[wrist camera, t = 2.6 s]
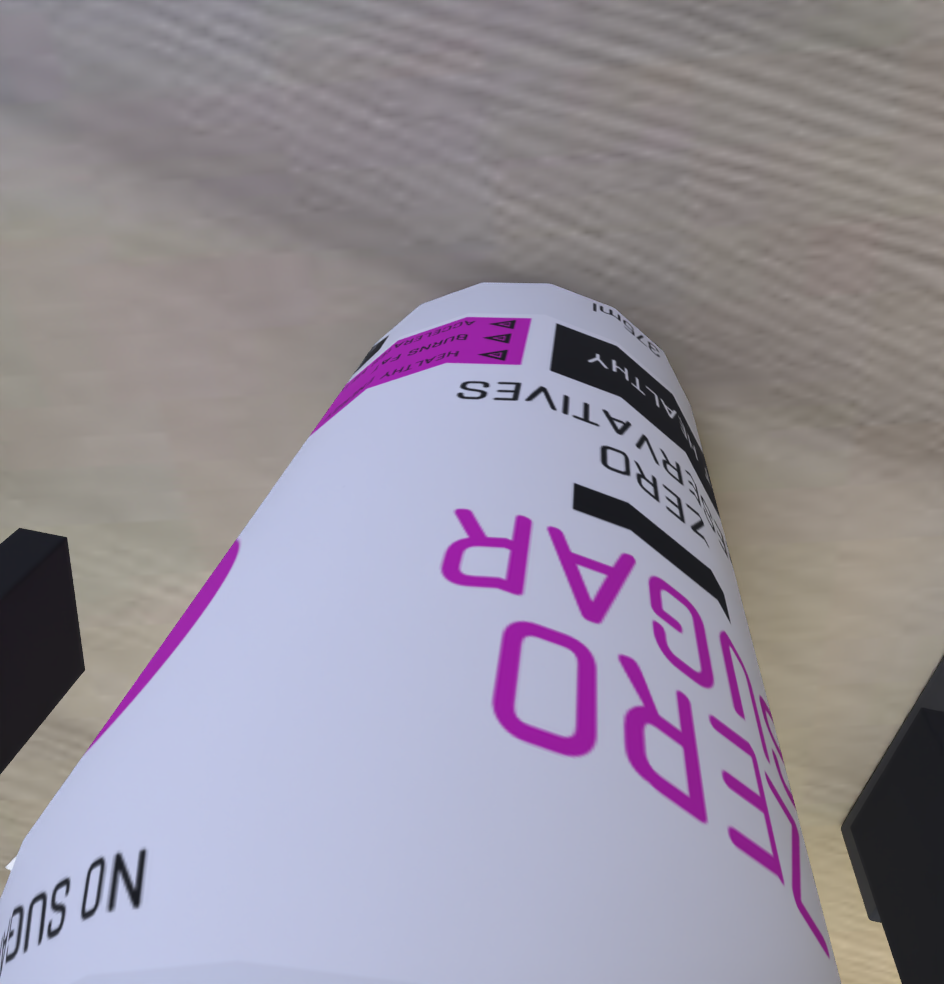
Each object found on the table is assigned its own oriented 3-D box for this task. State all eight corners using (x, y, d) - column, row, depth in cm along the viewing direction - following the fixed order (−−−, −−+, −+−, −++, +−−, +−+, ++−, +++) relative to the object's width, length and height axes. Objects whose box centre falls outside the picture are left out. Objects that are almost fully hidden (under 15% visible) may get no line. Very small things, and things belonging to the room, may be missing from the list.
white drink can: (343, 545, 22) (-29, 1303, 9) (369, 239, 17) (-279, 830, 4) (638, 606, 21) (706, 1484, 8) (738, 310, 17) (1181, 1161, 4)
